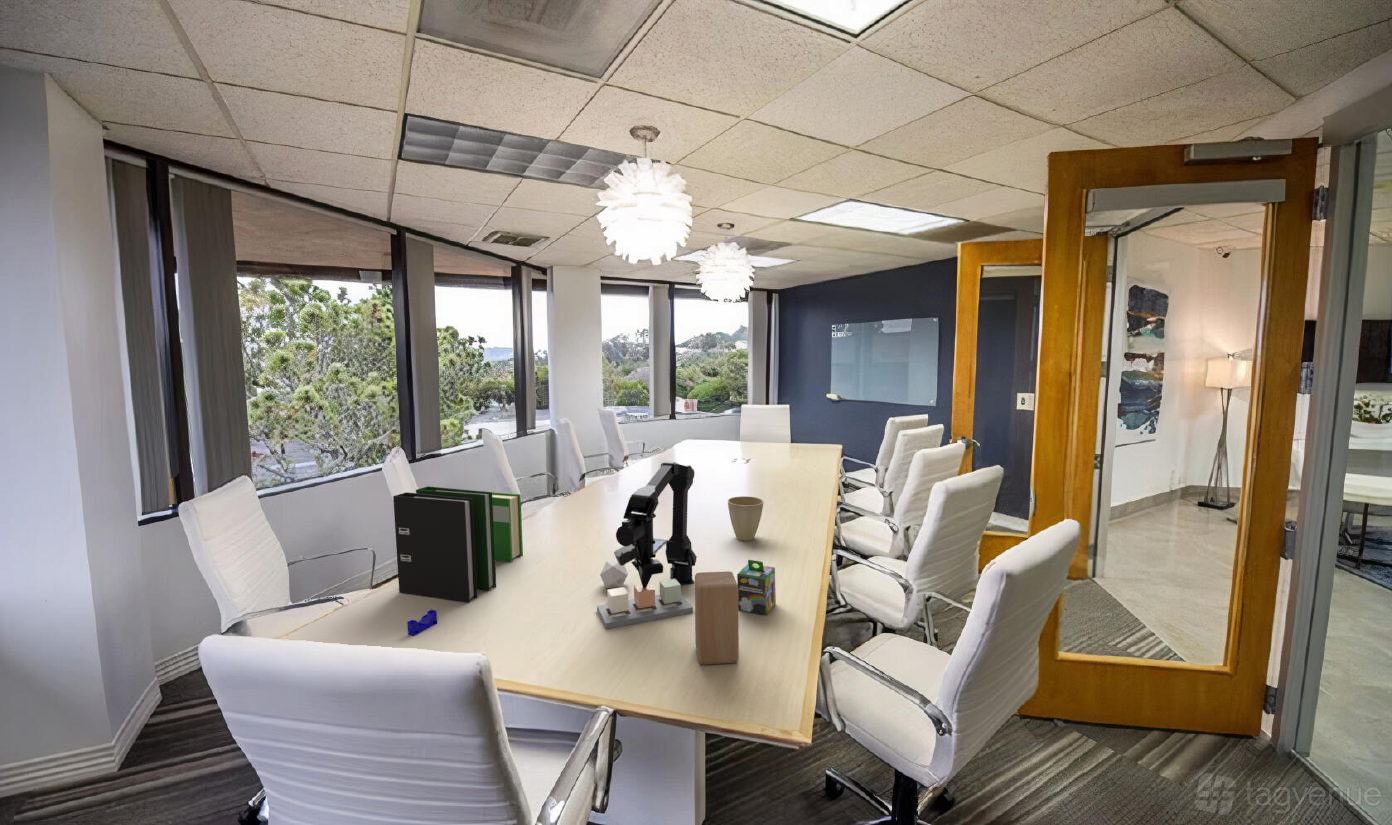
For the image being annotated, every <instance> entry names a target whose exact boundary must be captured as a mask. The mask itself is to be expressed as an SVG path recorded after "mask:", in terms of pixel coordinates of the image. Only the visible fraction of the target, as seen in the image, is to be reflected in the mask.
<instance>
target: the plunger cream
mask: <svg viewBox="0 0 1392 825" xmlns="http://www.w3.org/2000/svg"><path fill="white" fill-rule="evenodd" d="M606 593H607V604H608V607H609V609H610V611H611V613H610V614H616V613H620V612H627V611H628V610H629V600H630V599H629V592H628V590H627V589H626V588H625V587H624V586H622V587H621V588H608V589H607V592H606Z"/></svg>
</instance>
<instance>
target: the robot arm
mask: <svg viewBox="0 0 1392 825" xmlns="http://www.w3.org/2000/svg"><path fill="white" fill-rule="evenodd" d="M694 478H695V470H694V468H693V467H692V466H691V465H688V464H686V465H685V464H680V463H678V462H677V461H675V462H674V461H664V462H662V463H661V464H660V467H659V468H658V470H657V471H656V472H655V474H654V475H653V476H652V477H651V479H650V480H649V482H647V484H646V485H645V486H643V487H640V488H638V489H636V490H635V491H634V492H633V493H632V494H631V496H630V497H629V499H628V501H627V505H626V508H625V510H624V511H625V512H624V514H623V519H625V520H622V521H621V525H620V526H619V527H618V529H617V530H616V532H615V538H616V541H617V542H618V544H619V545H621V546H622V547H620V548H618V549H615V551H614V552H613V554H614V556H615V559H616V561H618V563H619V564H620V565H621V566H623V565H624V566H625V565H626V564H628V563H630V562H631V564H632V565H633V566H634V568H635V569H636V571H638V572H637V573H638V575H639V579H640V582H641V584H642V587H643V588H646V587H647V585H648V583H650V580H651V578H652V576H653V575H659V574H663V573H664V565H663V564H662V563H661V562H660V561H659V560H658V559H657V558H656V553H655V552H654V544H656V540H655V538H654V518H656V517H657V515H656V513H655V511H656V509H657V508H658V505H659V497H660V495H661V494H662V493H663V491H664V490H665V489H666V487H668V485H669V487H670V488H671V490H672V495H673V496H672V524H671V527H672V529H671V532H672V533H671V536H670V537H669V539H668V540H666V542H665V556H666V562H667V564H669V565H670V564H671V567H670V569H669V572H670V573H669V574H670V576H669V578H670V579H676V580H677V581H678V582H679V584H680V585H681V586H683V585H688V584H695V579H693V567H695V566H696V563H697V558H698V557H697V555H696V554H695V552H694V551H693V549H692V548H693V547H692V542H691V539H690V537H689V535H687V534H688V500H689V496H688V495H689V490H690V489H691V487H692V486H693V483H694ZM654 558H656V559H654ZM670 579H669V580H670Z"/></svg>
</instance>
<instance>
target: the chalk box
mask: <svg viewBox="0 0 1392 825" xmlns="http://www.w3.org/2000/svg"><path fill="white" fill-rule="evenodd" d="M736 576H737V578H736V580H737V581H736V583H737V585H738V611H740V612H741V611H742V612H748V613H752V614H757V615H760V616H764V617H765V616H767V615H768V613H769V612H770V611H771V610H772V608H773V607H774V606H775V605H776V604H777V602H776V600H777V599H776V568H775V567H774V566H768V565H764V562H763V561H761V560H754V559H748V560H747V565H744V567H743V568H742V569H741V570H740V571H739V572H738V573H737V575H736Z"/></svg>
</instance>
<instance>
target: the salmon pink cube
mask: <svg viewBox="0 0 1392 825" xmlns="http://www.w3.org/2000/svg"><path fill="white" fill-rule="evenodd" d="M633 596H634V597H633V599H634V602H635V603H636V605H637V607H638V608H637V609H643V608H648V607H650V608H651V607H652V606H655V596H656V588H655V587H654V586H653V585H652V584H651V582H649V583H648V585H647V587H646V588H643V587H642V584H635V585H633Z"/></svg>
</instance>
